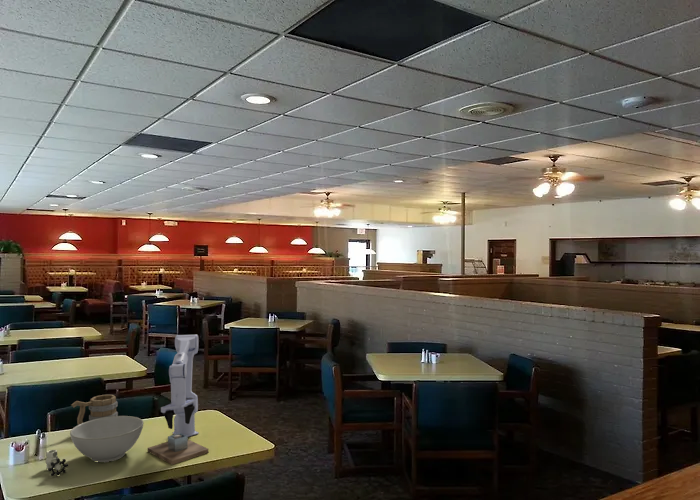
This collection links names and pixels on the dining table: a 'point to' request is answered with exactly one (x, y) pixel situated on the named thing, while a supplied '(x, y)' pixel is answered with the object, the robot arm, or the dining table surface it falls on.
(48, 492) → the dining table surface
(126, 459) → the dining table surface
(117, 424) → the decorative bowl
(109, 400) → the tankard
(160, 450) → the post board
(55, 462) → the valve
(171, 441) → the collar
